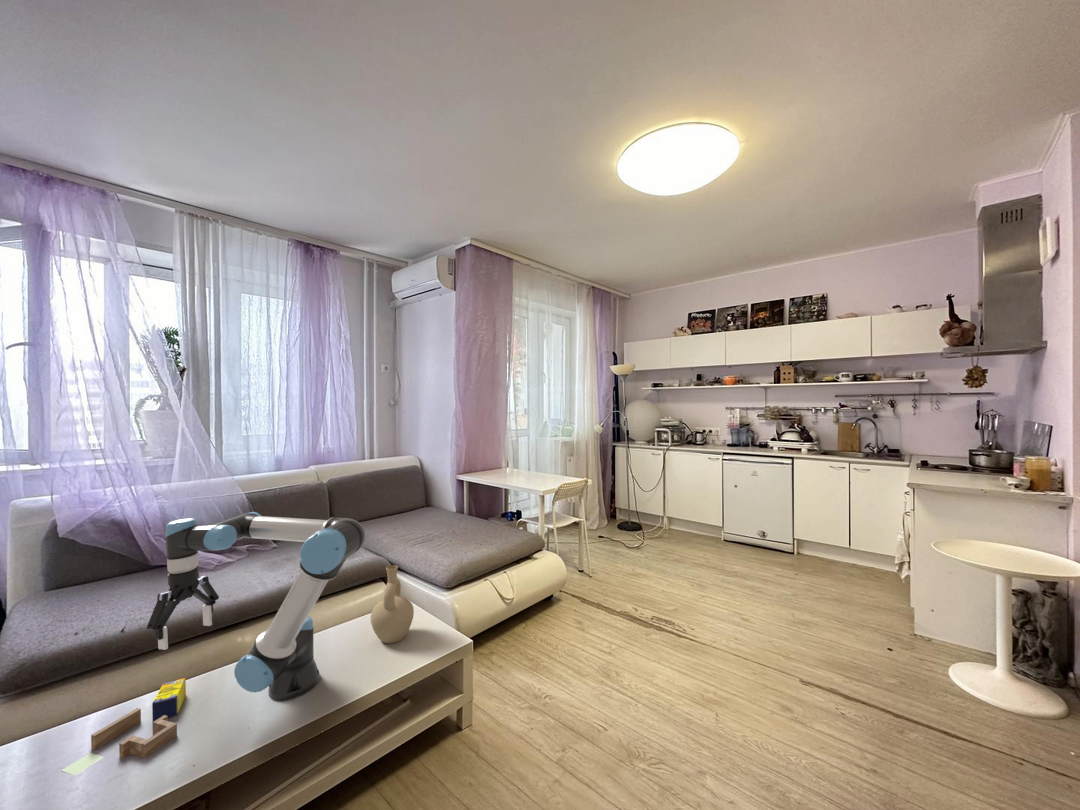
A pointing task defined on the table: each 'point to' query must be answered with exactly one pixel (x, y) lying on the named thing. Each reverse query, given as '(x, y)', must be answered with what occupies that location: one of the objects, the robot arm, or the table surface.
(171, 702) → the supplement box
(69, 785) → the table surface
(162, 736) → the tunnel rails
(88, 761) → the pad
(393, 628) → the vase
